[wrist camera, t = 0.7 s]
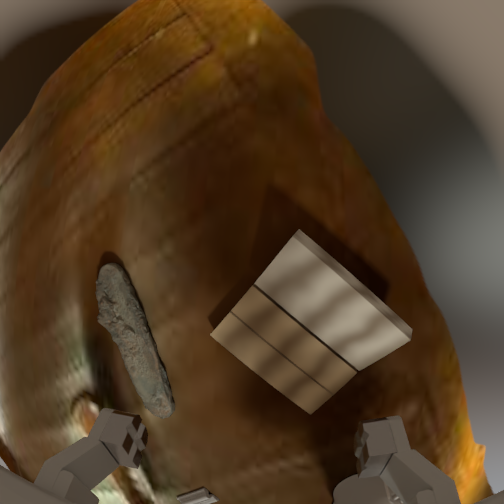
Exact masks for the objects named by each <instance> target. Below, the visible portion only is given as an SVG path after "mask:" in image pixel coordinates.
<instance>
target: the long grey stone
mask: <svg viewBox="0 0 504 504" xmlns="http://www.w3.org/2000/svg"><path fill="white" fill-rule="evenodd" d="M96 288H97V291H96V296H97V300H98V306H99V312H100V313H99V314H98V316H97V318H98V322H99V323H100V324H101V325H103V326H104V327H106V328H107V330H108V331H109V332H110V333H111V335H112V339H113V341H114V342H116V344H117V345H118V346H119V350H120V352H121V354H122V359H123V360H124V364H125V367H126V369H127V370H128V372H129V375H130V378H131V380H132V383H133V384H134V386H135V388H136V391H137V393H138V395H140V396H141V398H142V400H143V404H144V405H145V408H146V409H148V410H149V411H150V412H151V413H152V414H154V415H155V416H158V417H160V418H162V419H163V418H166V417H170V415H171V414H172V413H173V412H174V411H175V403H174V401H173V399H172V391H171V389H170V387H169V382H168V380H167V374H166V371H165V370H164V367H163V366H162V364H161V362H160V360H159V356H158V353H157V345H156V343H155V342H154V341H153V338H152V337H151V334H150V332H149V328H148V326H147V324H146V322H147V320H146V317H145V314H144V313H143V310H142V308H141V307H140V304H139V302H138V299H137V297H136V295H135V290H134V288H133V286H132V285H131V284H130V280H129V278H128V276H127V274H126V273H125V272H124V270H123V269H122V267H120V265H119V264H116V263H107V264H105V265H104V266H102V267H101V268H100V272H99V276H98V279H97V280H96Z"/></svg>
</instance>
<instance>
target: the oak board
mask: <svg viewBox="0 0 504 504" xmlns="http://www.w3.org/2000/svg"><path fill="white" fill-rule="evenodd" d="M210 335H211V336H212V337H213V338H214V339H215V340H217V341H218V342H219V343H220V344H221V345H222V346H224V347H225V348H226V349H227V350H228V351H230V352H231V353H232V354H233V355H234V356H236V357H237V358H238V359H239V360H240V361H242V362H243V363H244V364H245V365H247V366H248V367H249V368H250V369H251V370H253V371H254V372H255V373H256V374H258V375H259V376H260V377H261V378H263V379H264V380H265V381H267V382H268V383H269V384H270V385H272V386H273V387H274V388H276V389H277V390H278V391H279V392H281V393H282V394H283V395H285V396H286V397H287V398H289V399H290V400H291V401H293V402H294V403H295V404H297V405H298V406H299V407H301V408H302V409H303V410H305V411H306V412H308V413H309V414H310V415H311V414H312V413H313V412H314V411H315V410H317V409H318V408H319V407H320V406H321V405H322V404H324V403H325V402H326V401H327V400H328V399H329V398H330V397H332V396H333V395H334V394H335V393H336V392H337V391H338V390H339V389H341V388H342V387H343V386H344V385H345V384H346V383H347V382H348V381H349V380H350V379H351V378H352V377H353V376H354V375H356V374H357V370H356V368H355V367H354V366H353V365H351V364H350V363H349V362H348V361H347V360H345V359H344V358H343V357H342V356H340V355H339V354H338V353H337V352H336V351H334V350H333V349H332V348H331V347H330V346H328V345H327V344H326V343H325V342H323V341H322V340H321V339H320V338H319V337H317V336H316V335H315V334H314V333H313V332H311V331H310V330H309V329H308V328H307V327H305V326H304V325H303V324H302V323H301V322H299V321H298V320H297V319H296V318H295V317H293V316H292V315H291V314H290V313H289V312H287V311H286V310H285V309H284V308H283V307H282V306H280V305H279V304H278V303H277V302H276V301H274V300H273V299H272V298H271V297H270V296H269V295H267V294H266V293H265V292H264V291H263V290H261V289H260V288H259V287H258V286H257V285H256V284H253V285H252V287H251V288H250V289H249V290H248V291H247V292H246V294H245V295H244V296H243V297H242V298H241V300H240V301H239V302H238V303H237V304H236V305H235V307H234V308H233V309H232V310H231V311H230V312H229V314H228V315H227V316H226V317H225V318H224V319H223V321H222V322H221V323H220V324H219V325H218V326H217V327H216V329H215V330H214V331H213V332H212V333H211V334H210Z"/></svg>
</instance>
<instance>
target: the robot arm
mask: <svg viewBox="0 0 504 504" xmlns="http://www.w3.org/2000/svg"><path fill="white" fill-rule="evenodd" d="M141 421H142V419H141V417H140V415H137V414H132V413H127V412H121V411H117V410H112V409H107V408H104V409H102V410H101V412H100V414H99V416H98V418H97V420H96V422H95V423H94V425H93V427H92V429H91V431H90V433H89V436H88V438H87V437H84V438H82V439H80V440H79V441H77V442H76V443H74V444H72V445H71V446H69V447H68V448H66V449H64V450H63V451H61V452H59V453H58V454H56V455H55V456H53V457H51V458H50V459H48V460H46V461H45V463H44V464H43V466H42V468H41V470H40V472H39V474H38V476H37V478H36V480H35V482H34V484H33V483H31V482H29V481H27V480H25V479H24V478H22V477H20V476H18V475H16V474H14V473H13V472H11V471H9V470H8V469H6V468H4V467H3V466H1V465H0V504H98V503H99V499H98V497H97V496H96V495H94V494H93V493H92V492H91V491H90V490H92V489H93V488H94V487H95V486H96V485H98V484H99V483H100V482H101V481H102V480H104V479H105V478H106V477H107V476H108V475H109V474H111V473H112V472H113V471H114V470H115V469H116V468H117V467H119V465H122V466H127V467H132V468H137V469H138V467H139V464H140V461H141V459H142V454H141V450H142V449H144V448H145V447H146V444H147V440H148V433H147V429H146V427H145V426H144V425H143V424H141ZM358 430H359V431H357V432H356V433H355V436H354V454H355V456H357V457H358V458H359V459H358V461H357V463H356V467H357V474H356V475H353V476H351V477H348V478H346V479H345V480H343V481H342V482H340V483H339V484H338V485H337V486H336V488H335V489H334V492H333V497H334V503H333V504H461V503H460V500H459V496H458V493H457V489H456V486H455V482H454V480H452V479H451V478H450V477H448V476H447V475H446V474H445V473H443V472H442V471H441V470H439V469H438V468H437V467H436V466H434V465H433V464H432V463H431V462H429V461H428V460H427V459H426V458H424V457H423V456H422V455H421V454H419V453H418V452H417V451H416V450H411V449H410V445H409V442H408V439H407V435H406V432H405V429H404V426H403V422H402V419H401V417H400V416H392V417H384V418H377V419H370V420H363V421H360V422H359V424H358ZM474 504H504V490H503V491H501V492H499V493H497V494H494V495H492V496H490V497H488V498H486V499H483V500H481V501H479V502H476V503H474Z"/></svg>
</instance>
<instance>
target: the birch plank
mask: <svg viewBox="0 0 504 504" xmlns="http://www.w3.org/2000/svg"><path fill="white" fill-rule="evenodd" d="M254 284H256V285H257V286H258V287H259V288H260V289H261V290H263V291H264V292H265V293H266V294H267V295H269V296H270V297H271V298H272V299H273V300H274V301H276V302H277V303H278V304H279V305H280V306H282V307H283V308H284V309H285V310H286V311H287V312H289V313H290V314H291V315H292V316H293V317H295V318H296V319H297V320H298V321H299V322H301V323H302V324H303V325H304V326H305V327H307V328H308V329H309V330H310V331H311V332H313V333H314V334H315V335H316V336H317V337H319V338H320V339H321V340H322V341H323V342H325V343H326V344H327V345H328V346H330V347H331V348H332V349H333V350H334V351H336V352H337V353H338V354H339V355H340V356H342V357H343V358H344V359H345V360H347V361H348V362H349V363H350V364H351V365H353V366H354V367H355V368H356V369H358V370H359V371H360V370H362V369H364V368H365V367H367V366H369V365H371V364H372V363H374V362H376V361H377V360H379V359H381V358H382V357H384V356H386V355H387V354H389V353H391V352H392V351H394V350H396V349H397V348H399V347H400V346H402V345H404V344H405V343H407V342H408V341H410V340H411V334H412V329H411V328H410V327H409V326H408V325H407V324H406V323H405V322H404V321H403V320H402V319H401V318H400V317H399V316H397V315H396V314H395V313H394V312H393V311H392V310H391V309H390V308H389V307H388V306H387V305H385V304H384V303H383V302H382V301H381V300H380V299H379V298H378V297H377V296H376V295H374V294H373V293H372V292H371V291H370V290H369V289H368V288H367V287H366V286H364V285H363V284H362V283H361V282H360V281H359V280H358V279H357V278H355V277H354V276H353V275H352V274H351V273H350V272H349V271H347V270H346V269H345V268H344V267H343V266H342V265H341V264H339V263H338V262H337V261H336V260H335V259H334V258H333V257H331V256H330V255H329V254H328V253H327V252H326V251H324V250H323V249H322V248H321V247H320V246H319V245H317V244H316V243H315V242H314V241H313V240H312V239H310V238H309V237H308V236H307V235H306V234H304V233H303V232H302V231H301V230H300V229H299V230H298V231H297V232H296V233H295V234H294V235H293V236H292V238H291V239H290V240H289V241H288V243H287V244H286V245H285V246H284V247H283V249H282V250H281V251H280V252H279V254H278V255H277V256H276V257H275V259H274V260H273V261H272V262H271V263H270V265H269V266H268V267H267V268H266V270H265V271H264V272H263V273H262V275H261V276H260V277H259V278H258V279H257V281H256V282H255V283H254Z"/></svg>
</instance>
